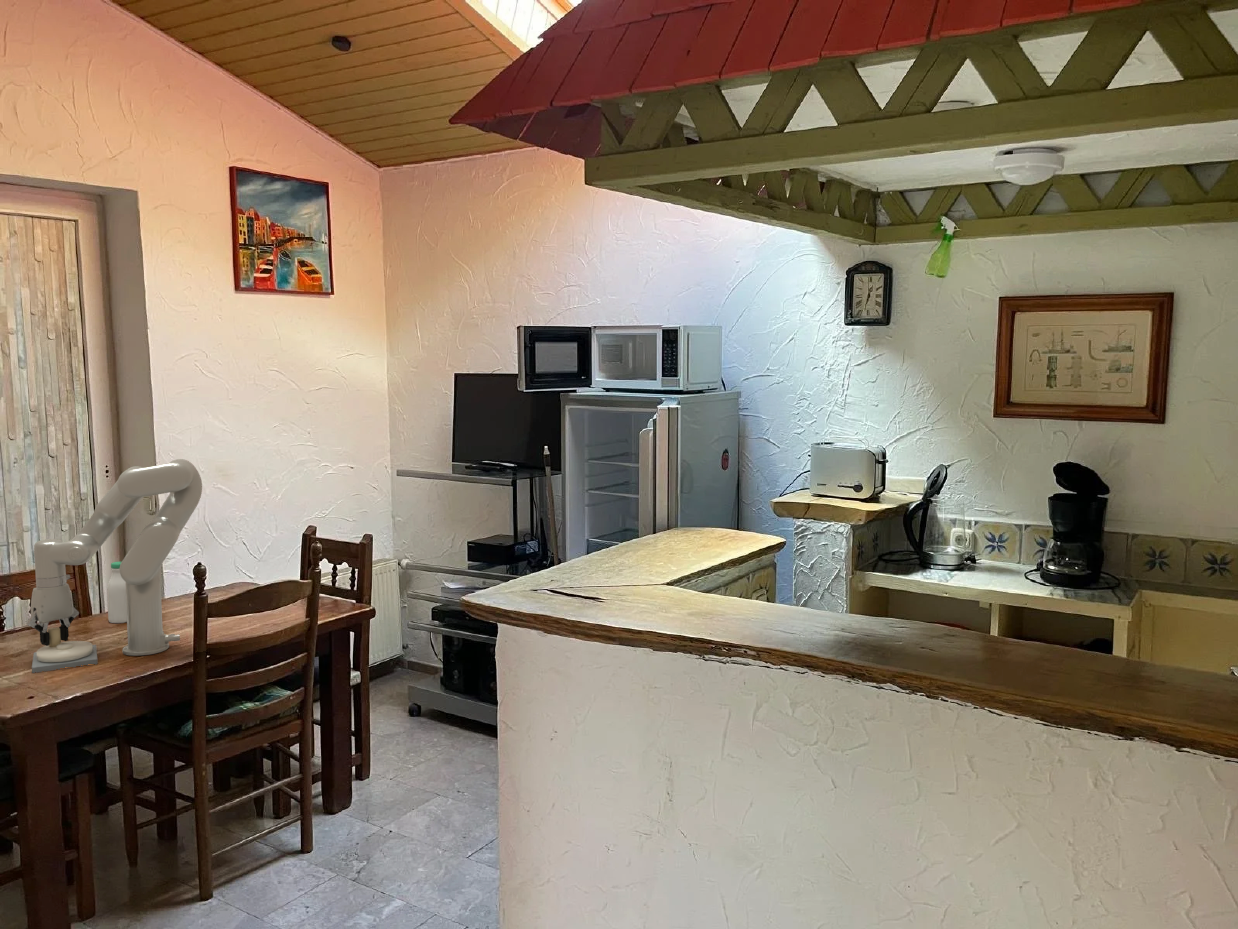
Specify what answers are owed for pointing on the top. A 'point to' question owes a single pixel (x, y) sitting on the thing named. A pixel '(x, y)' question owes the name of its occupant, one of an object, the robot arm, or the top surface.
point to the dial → (63, 649)
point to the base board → (48, 666)
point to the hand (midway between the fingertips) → (54, 642)
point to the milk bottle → (116, 596)
